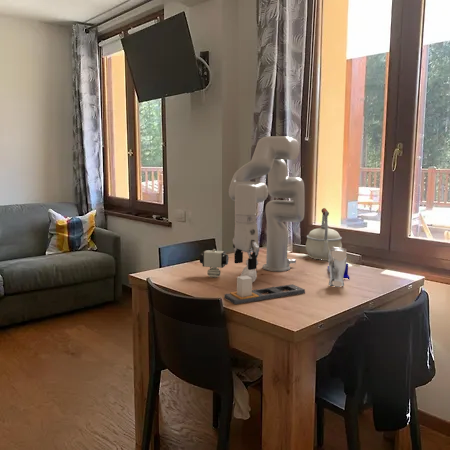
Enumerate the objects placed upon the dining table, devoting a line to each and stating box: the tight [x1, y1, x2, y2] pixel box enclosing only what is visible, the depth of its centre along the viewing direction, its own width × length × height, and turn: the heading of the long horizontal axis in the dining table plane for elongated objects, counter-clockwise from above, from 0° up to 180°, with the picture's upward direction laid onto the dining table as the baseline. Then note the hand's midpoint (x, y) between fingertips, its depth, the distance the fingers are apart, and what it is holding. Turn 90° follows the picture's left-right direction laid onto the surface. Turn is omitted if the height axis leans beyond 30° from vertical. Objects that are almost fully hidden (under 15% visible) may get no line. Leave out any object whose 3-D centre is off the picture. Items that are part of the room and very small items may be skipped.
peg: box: [236, 275, 253, 297], centre depth 162 cm, size 4×4×8 cm
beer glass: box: [328, 247, 348, 288], centre depth 180 cm, size 7×7×15 cm
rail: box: [224, 283, 306, 305], centre depth 167 cm, size 30×8×2 cm, turn 117°
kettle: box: [305, 207, 343, 261], centre depth 229 cm, size 25×18×25 cm
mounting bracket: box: [327, 263, 350, 280], centre depth 199 cm, size 18×7×6 cm, turn 173°
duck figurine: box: [240, 259, 259, 284], centre depth 185 cm, size 12×8×11 cm
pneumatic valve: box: [199, 248, 229, 278], centre depth 193 cm, size 6×12×12 cm, turn 77°
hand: (245, 265), depth 162 cm, fingers open, 9 cm apart
